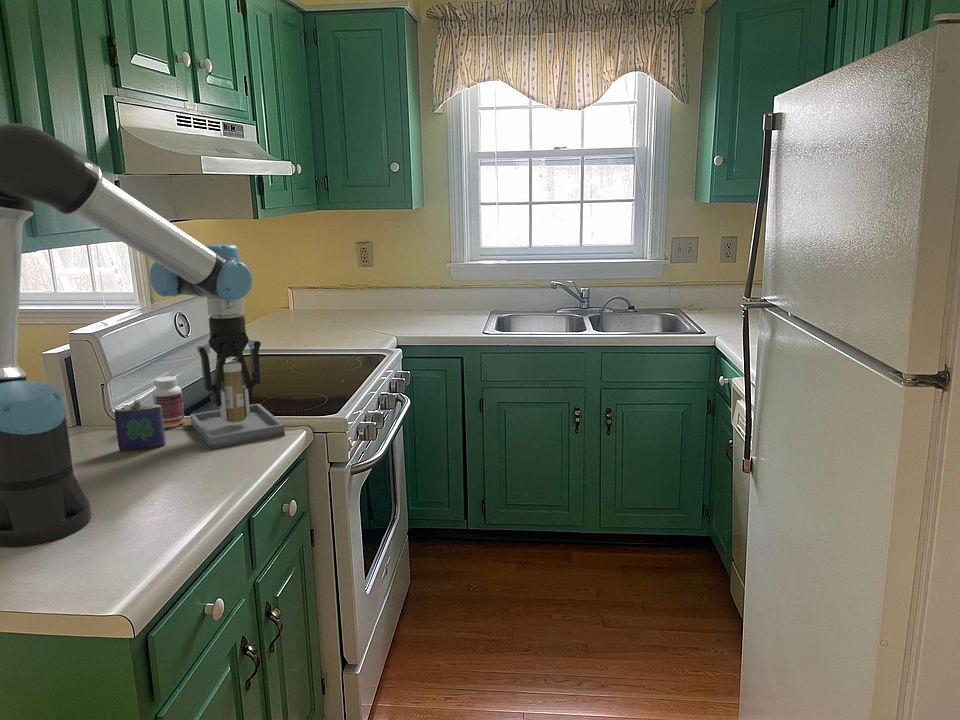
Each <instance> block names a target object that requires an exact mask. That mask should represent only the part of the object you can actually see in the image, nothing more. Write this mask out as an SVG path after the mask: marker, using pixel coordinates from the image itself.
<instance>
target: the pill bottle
mask: <svg viewBox="0 0 960 720" xmlns="http://www.w3.org/2000/svg"><path fill="white" fill-rule="evenodd" d="M177 384H178V380H177V377H176V376H173V375H172V376H161V377H157V378H155V379H154V385H155V388H154V389H153V391H152V398H153V405H161V406H162V416H163V424H164V429H170V428H176V427H179V426H180V425H179V424H180V422H181V420H182V419H183V418H184V419H185V412H184V403H183V401H184V400H183V394H182V393H183V392H182V389H181V387H180V386H178V385H177ZM178 425H179V426H178Z"/></svg>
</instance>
